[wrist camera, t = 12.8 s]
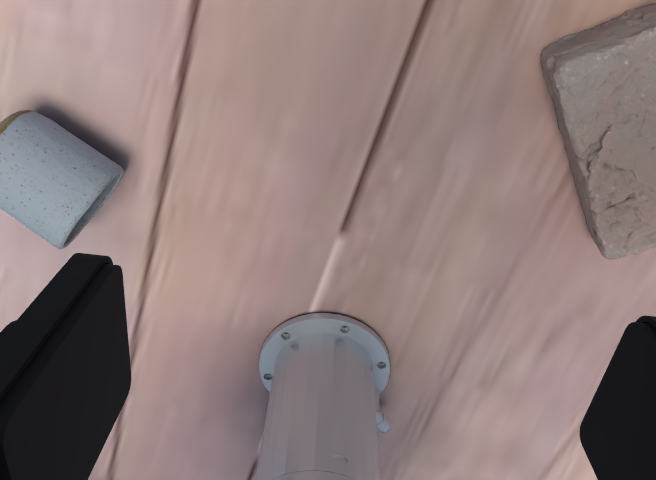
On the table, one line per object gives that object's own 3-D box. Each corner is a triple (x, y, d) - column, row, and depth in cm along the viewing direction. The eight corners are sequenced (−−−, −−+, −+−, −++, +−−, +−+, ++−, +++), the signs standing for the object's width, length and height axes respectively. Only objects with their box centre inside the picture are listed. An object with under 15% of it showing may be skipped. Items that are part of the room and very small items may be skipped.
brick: (532, 51, 39) (553, 67, 35) (657, -5, 37) (695, 5, 33) (585, 235, 46) (607, 267, 42) (691, 198, 44) (726, 227, 40)
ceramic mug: (39, 89, 41) (-22, 124, 34) (137, 154, 43) (97, 199, 37) (-11, 189, 46) (-73, 236, 39) (80, 243, 48) (35, 296, 41)
